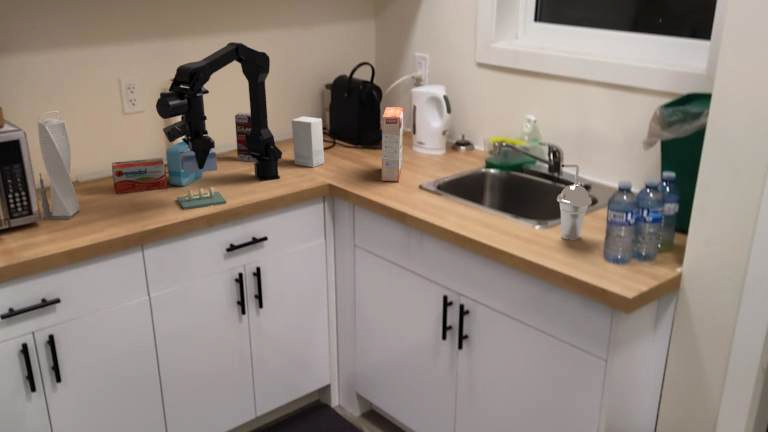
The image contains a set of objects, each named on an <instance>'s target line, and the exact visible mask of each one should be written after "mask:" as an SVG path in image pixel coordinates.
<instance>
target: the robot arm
mask: <svg viewBox="0 0 768 432" xmlns="http://www.w3.org/2000/svg"><path fill="white" fill-rule="evenodd" d="M233 62H236V63H238V64H240V67H241V72H242V74H243V75H244V77H245V79H246V80H247V83H248V97H249V108H250V113H251V124H252V128H251V130H250V132H249V134H246V136H245V138H246V147H247V148H248V151H249V152H250V154H251V157H252V158H256V162H254V164H253V165H254V167H253V168H254V176H255V177H256V178H257V179H258V180H259V181H261V182H262V181H268V180H278V179H281V176H280V175H279V168H278V167H279V166H278V165H279V162H278V161H279V160H281V159H282V156H283V152H282V150H281V149H280V148H279V147H278V146H277V145H276V143H275V136H274V135H273V133H272V131H271V130H270V128H269V123H268V108H267V92H266V80H267V77H268V76H269V74H270V65H271V60H270V56H269V55H268V54H267V53H266V52H264V51H259V50H257V49H253V48H251V47H248V46H247V45H245V44H244V43H242V42H234V41H233V42H232V41H231V42H228V43H227V44H226V45H225V46H223V47H221V48H220V49H218V50H216V51H215V52H212V53H211V54H209V55H208V56H206V57H204V58H203V59H201V60H198V61H191V62H188V63H184V64H181V65H179V66H178V67H177V68H176V71H175V74H174V77H173V79H172V81H171V83H170V86H169V88H168V91H167V92H163V91H162V92H160V93H159V98H158V99H157V101H156V105H155V108H156V109H155V110H156V113H157V114H158V115H159V117H160V118H161V119H163V120H168V119H171V118H177V117H179V116H180V120H179V121H176V122H174V123H172V124H169V125H168V126H166V127H164V128H162V132H163V133H164V135H165V137H166V139H167V141H168V142H169V143H172V142H175V141H176V140H177V139H180V138H181V140H182V141H184V142H185V143H186V144H187V145H188V146H189V149H190V151H193V152H194V153H195V157H196V160H197V164H198V167H199V169H203V168H204V165H205V162H206V160H207V157H208V155H209V152H210V150H211V149H212V150H213V149H215V147H216V145H215V140H214V138H212V137H210V136H209V131H208V130H207V127H206V121H207V120H208V119H207V115H205V114H206V113H205V106H204V105H205V104H204V95H206V94H207V95H208V94H210V91H209V90H208V89H207V88H205V87H204V86H205V85H206V84H207V83H208V82H210V79H211V77H212V75H213V74H215V73H217V72H219V70H221V69H223V68H225V67H226V66H229V65H230V64H232V63H233Z"/></svg>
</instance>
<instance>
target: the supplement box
mask: <svg viewBox="0 0 768 432" xmlns="http://www.w3.org/2000/svg"><path fill="white" fill-rule="evenodd" d="M234 119H235V120H234V121H235V138H236V152H237V153H236V154H237V161H239V162H240V161H242V162H254V163H256V158H252V157H251V154H250V152H249V151H248V148H247V147H246V138H245V136H246V134H249V132H250V130H251V128H252V124H251V112H238V113H237V114H235V115H234Z"/></svg>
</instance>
